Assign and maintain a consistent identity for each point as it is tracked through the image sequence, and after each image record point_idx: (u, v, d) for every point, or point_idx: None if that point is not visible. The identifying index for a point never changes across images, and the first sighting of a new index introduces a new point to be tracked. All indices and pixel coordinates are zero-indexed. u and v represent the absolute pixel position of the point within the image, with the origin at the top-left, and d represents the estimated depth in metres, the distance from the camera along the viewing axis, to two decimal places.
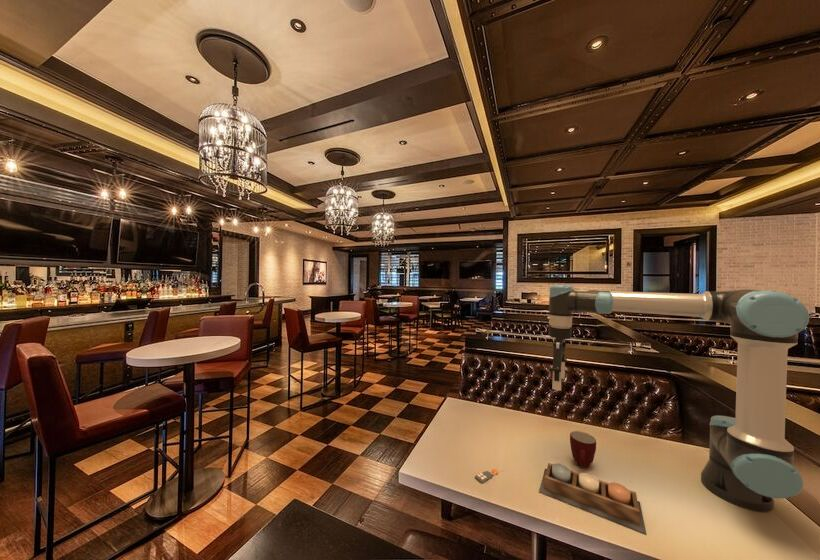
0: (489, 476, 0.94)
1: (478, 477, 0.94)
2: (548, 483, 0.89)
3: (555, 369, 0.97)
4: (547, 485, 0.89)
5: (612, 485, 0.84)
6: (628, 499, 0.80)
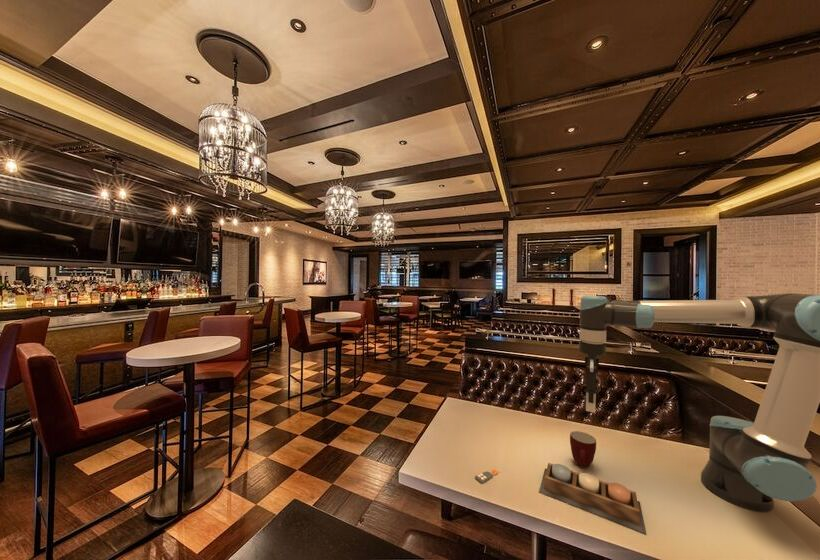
0: (489, 476, 0.94)
1: (478, 477, 0.93)
2: (548, 483, 0.89)
3: (590, 391, 0.93)
4: (547, 485, 0.89)
5: (612, 485, 0.84)
6: (628, 499, 0.80)
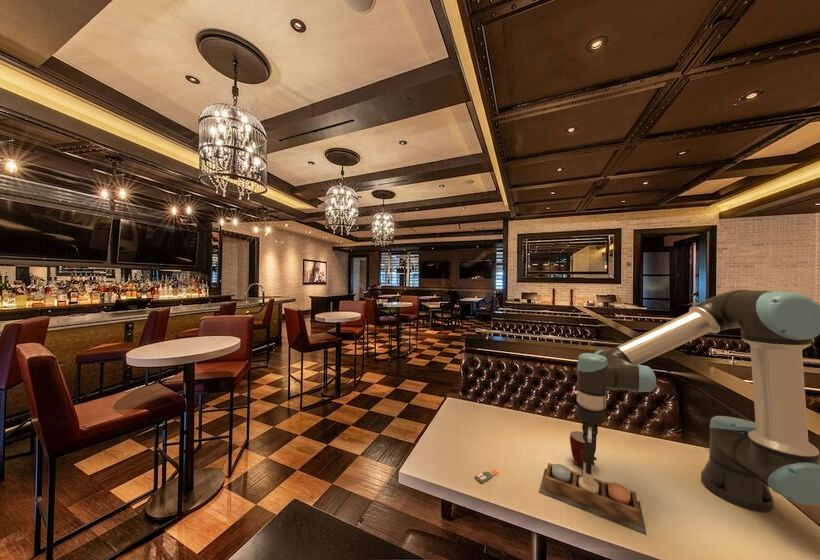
0: (489, 476, 0.94)
1: (478, 477, 0.94)
2: (548, 483, 0.89)
3: (587, 462, 0.84)
4: (547, 485, 0.89)
5: (612, 485, 0.84)
6: (628, 499, 0.80)
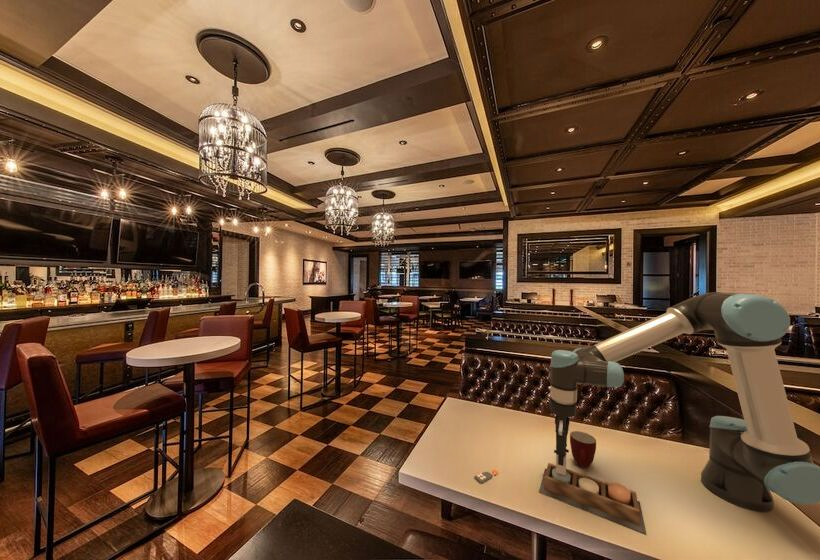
0: (489, 476, 0.94)
1: (477, 477, 0.94)
2: (548, 483, 0.89)
3: (559, 453, 0.88)
4: (547, 485, 0.89)
5: (612, 485, 0.84)
6: (628, 499, 0.80)
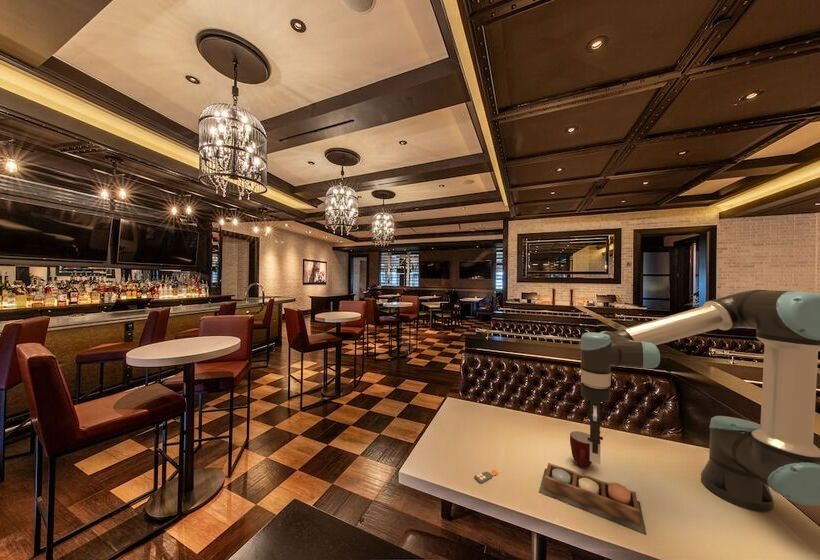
0: (488, 477, 0.94)
1: (477, 477, 0.94)
2: (548, 483, 0.89)
3: (594, 441, 0.83)
4: (547, 485, 0.89)
5: (612, 485, 0.84)
6: (628, 499, 0.80)
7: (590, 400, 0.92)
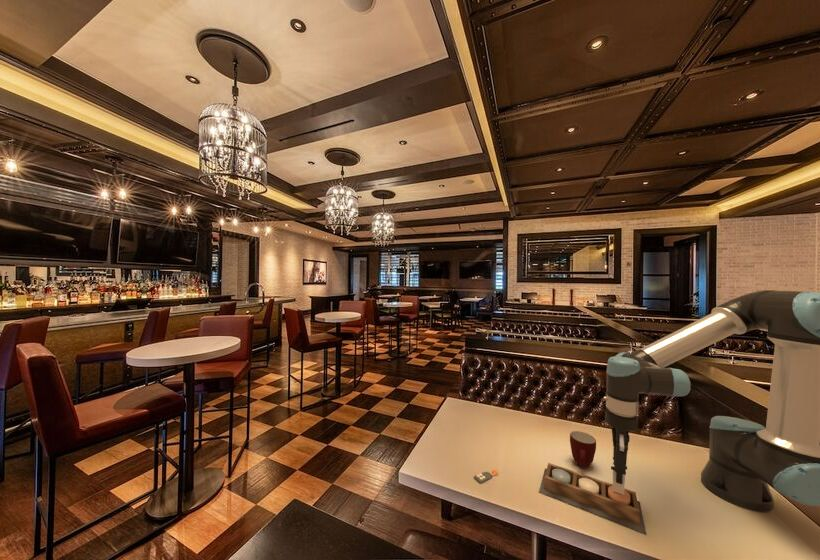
0: (488, 477, 0.94)
1: (477, 477, 0.94)
2: (548, 483, 0.89)
3: (619, 471, 0.80)
4: (547, 485, 0.89)
5: (612, 489, 0.84)
6: (628, 503, 0.80)
7: (613, 426, 0.88)
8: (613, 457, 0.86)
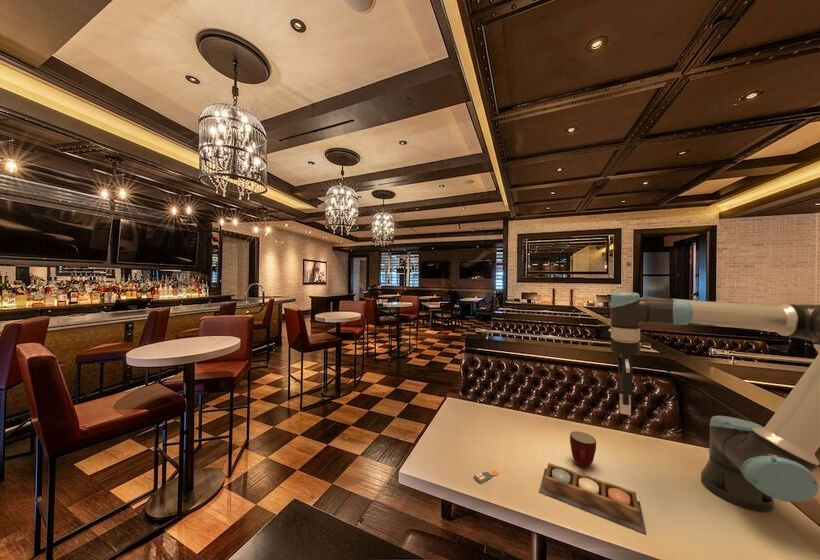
0: (488, 477, 0.94)
1: (477, 477, 0.94)
2: (548, 483, 0.89)
3: (626, 392, 0.88)
4: (547, 485, 0.89)
5: (612, 491, 0.84)
6: (628, 505, 0.80)
7: None
8: (619, 384, 0.95)
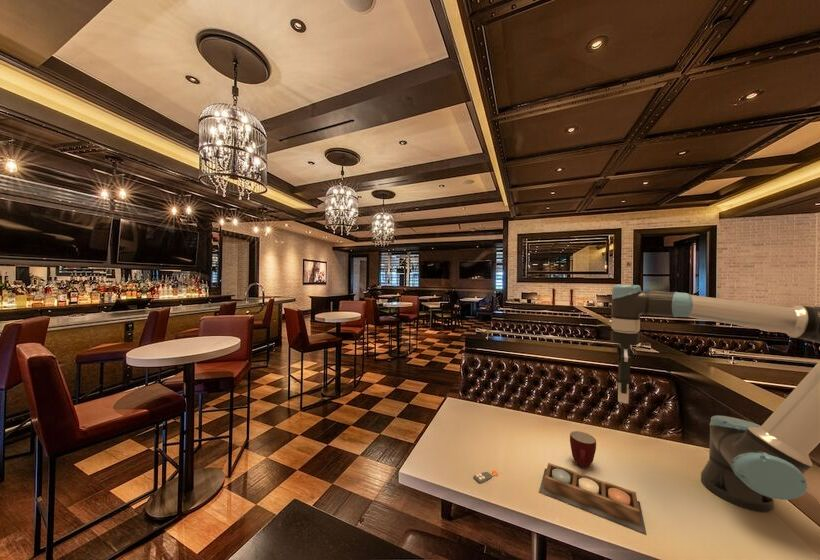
0: (488, 477, 0.94)
1: (476, 477, 0.94)
2: (548, 483, 0.89)
3: (623, 381, 0.91)
4: (547, 485, 0.89)
5: (612, 491, 0.84)
6: (628, 505, 0.80)
7: None
8: (618, 374, 0.97)
